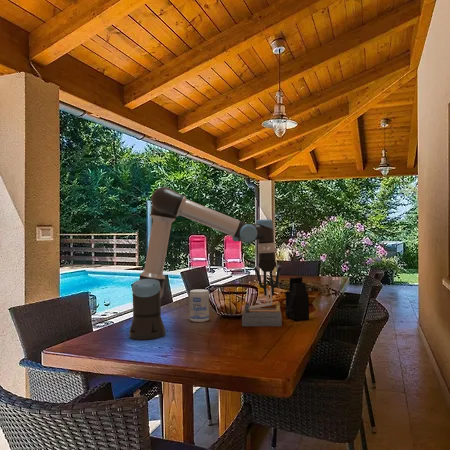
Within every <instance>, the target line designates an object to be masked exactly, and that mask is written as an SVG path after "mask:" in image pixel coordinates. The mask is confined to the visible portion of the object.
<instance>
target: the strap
mask: <svg viewBox="0 0 450 450" xmlns="http://www.w3.org/2000/svg"><path fill="white" fill-rule="evenodd" d="M279 303H280V302H279V300H276V301H275V300H274V301H272V303H271V301H269V303H267V302H266V303H261V304H260V303H259V304H256V305H251V306H250V305H249V307H248V310H249V309H254V308H263V307H269V306H274V305H275V306H276V304H279Z"/></svg>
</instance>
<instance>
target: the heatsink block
mask: <svg viewBox="0 0 450 450" xmlns="http://www.w3.org/2000/svg"><path fill="white" fill-rule="evenodd" d="M248 307H250V302H245V304H244V309H243V312H242V316H241V326H242V327H282V326H283V325H282V324H283V322H282V321H283V320H282V312H281V308H280V307H281V303H280V302H279V304H275V307H274V308H272V307H269V308H263V307H259V308H254V309H249V310H248Z"/></svg>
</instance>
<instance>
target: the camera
mask: <svg viewBox="0 0 450 450" xmlns="http://www.w3.org/2000/svg"><path fill="white" fill-rule="evenodd" d="M303 278H304V277H289V289H288V291H285V292H284V296H285V307H284V310H285V313H284V315H285V317H288V318H290V319H291V320H293V321H294V322H295V321H296V322H298V321H306V320H309V319H310V300H309V299H310V297H309V292H308V291H307V287H306V283H305V282H303Z"/></svg>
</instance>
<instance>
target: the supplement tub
mask: <svg viewBox="0 0 450 450" xmlns="http://www.w3.org/2000/svg"><path fill="white" fill-rule="evenodd" d="M189 320H190V321H191V322H193V323H202V322H203V323H204V322H207V321H209V320H210V291H209V290H208V289H203V288H202V289H196V288H195V289H192V290H190V291H189Z"/></svg>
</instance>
